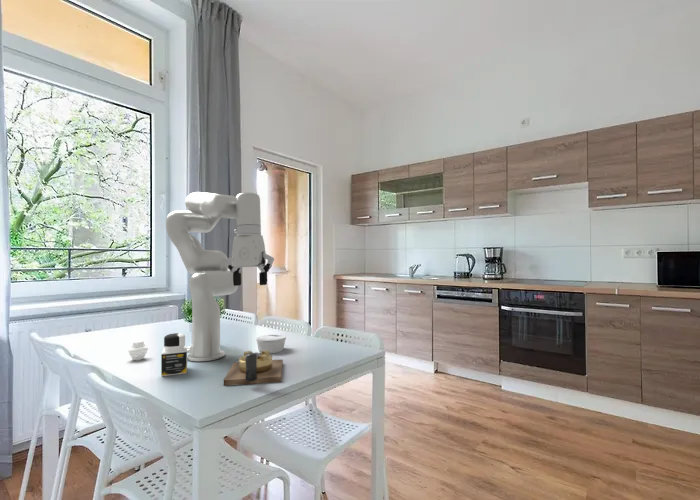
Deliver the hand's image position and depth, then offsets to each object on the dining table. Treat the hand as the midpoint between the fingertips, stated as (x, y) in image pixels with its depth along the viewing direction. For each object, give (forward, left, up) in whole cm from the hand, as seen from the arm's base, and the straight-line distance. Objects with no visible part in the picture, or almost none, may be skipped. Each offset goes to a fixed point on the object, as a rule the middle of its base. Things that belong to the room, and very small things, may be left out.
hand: (250, 285), depth 113 cm
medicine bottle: (-24, +5, -28) cm, 37 cm away
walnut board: (+2, -2, -28) cm, 28 cm away
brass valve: (+2, -6, -26) cm, 27 cm away
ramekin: (+5, +26, -28) cm, 38 cm away
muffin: (-42, +23, -28) cm, 55 cm away
